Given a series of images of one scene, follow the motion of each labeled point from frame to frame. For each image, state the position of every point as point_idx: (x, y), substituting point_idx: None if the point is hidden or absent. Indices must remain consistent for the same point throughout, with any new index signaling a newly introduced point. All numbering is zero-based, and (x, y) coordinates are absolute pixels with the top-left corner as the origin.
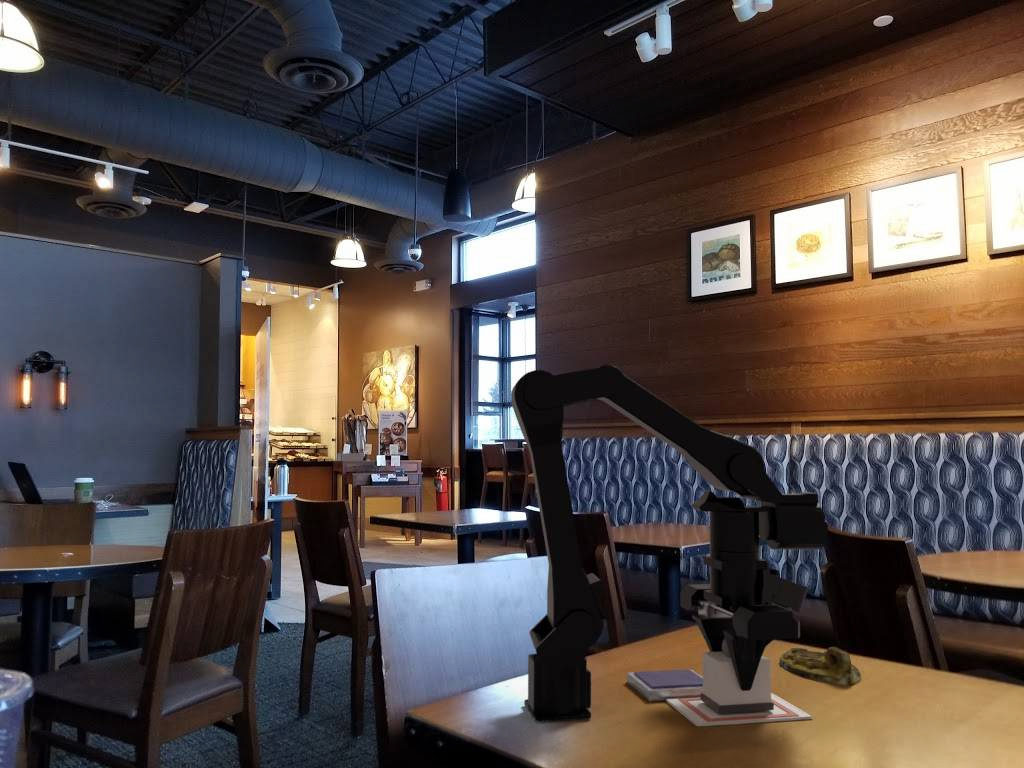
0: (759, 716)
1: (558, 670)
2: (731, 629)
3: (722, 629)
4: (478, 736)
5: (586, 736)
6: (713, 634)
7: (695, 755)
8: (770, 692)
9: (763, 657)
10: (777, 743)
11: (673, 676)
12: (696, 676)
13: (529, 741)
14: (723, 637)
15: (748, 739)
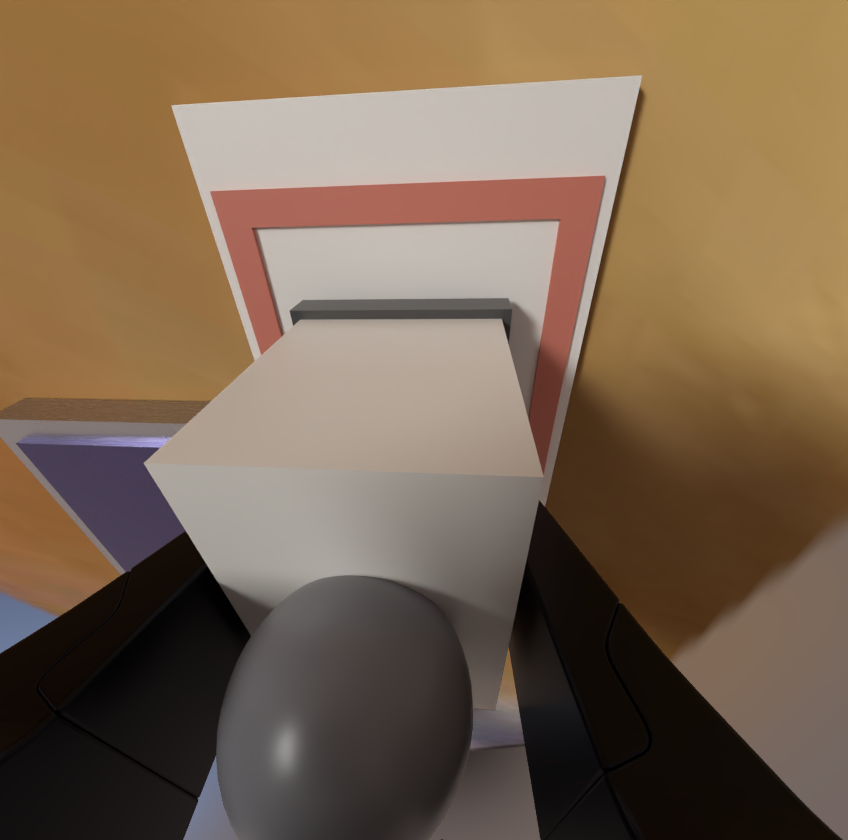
0: (545, 390)
1: None
2: (22, 811)
3: (85, 837)
4: (472, 745)
5: (513, 689)
6: (171, 798)
7: (697, 618)
8: (507, 342)
9: (439, 493)
10: (777, 437)
11: (151, 521)
12: (122, 457)
13: (508, 726)
14: (151, 733)
15: (685, 495)
